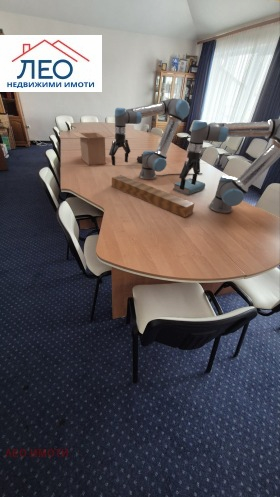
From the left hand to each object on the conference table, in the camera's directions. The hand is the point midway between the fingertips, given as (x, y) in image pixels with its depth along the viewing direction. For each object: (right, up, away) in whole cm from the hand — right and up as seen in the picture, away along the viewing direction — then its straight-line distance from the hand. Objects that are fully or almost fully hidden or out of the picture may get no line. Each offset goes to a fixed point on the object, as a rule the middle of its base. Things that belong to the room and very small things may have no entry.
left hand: (120, 163), depth 172 cm
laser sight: (+23, +28, +71) cm, 80 cm away
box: (-34, +27, +65) cm, 78 cm away
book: (+57, -16, +15) cm, 61 cm away
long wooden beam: (+22, -28, -5) cm, 36 cm away
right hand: (+46, -27, -32) cm, 62 cm away
